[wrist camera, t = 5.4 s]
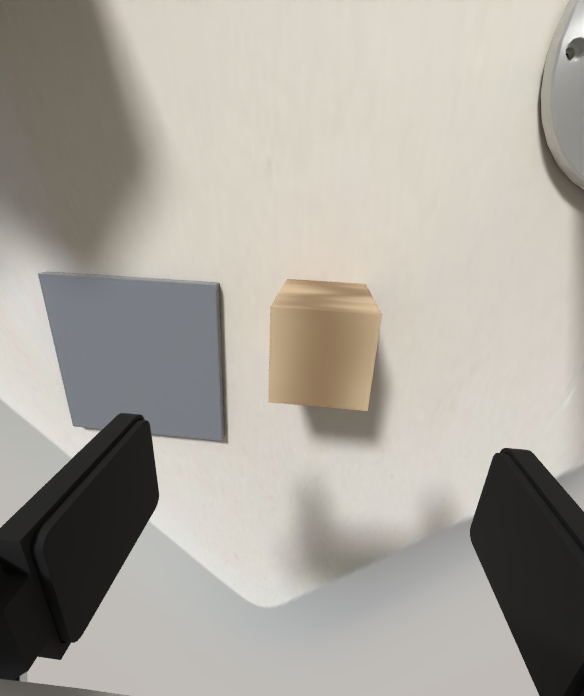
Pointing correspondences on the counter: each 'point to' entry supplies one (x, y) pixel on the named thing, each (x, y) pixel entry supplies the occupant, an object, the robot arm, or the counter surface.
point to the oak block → (323, 344)
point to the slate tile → (139, 351)
